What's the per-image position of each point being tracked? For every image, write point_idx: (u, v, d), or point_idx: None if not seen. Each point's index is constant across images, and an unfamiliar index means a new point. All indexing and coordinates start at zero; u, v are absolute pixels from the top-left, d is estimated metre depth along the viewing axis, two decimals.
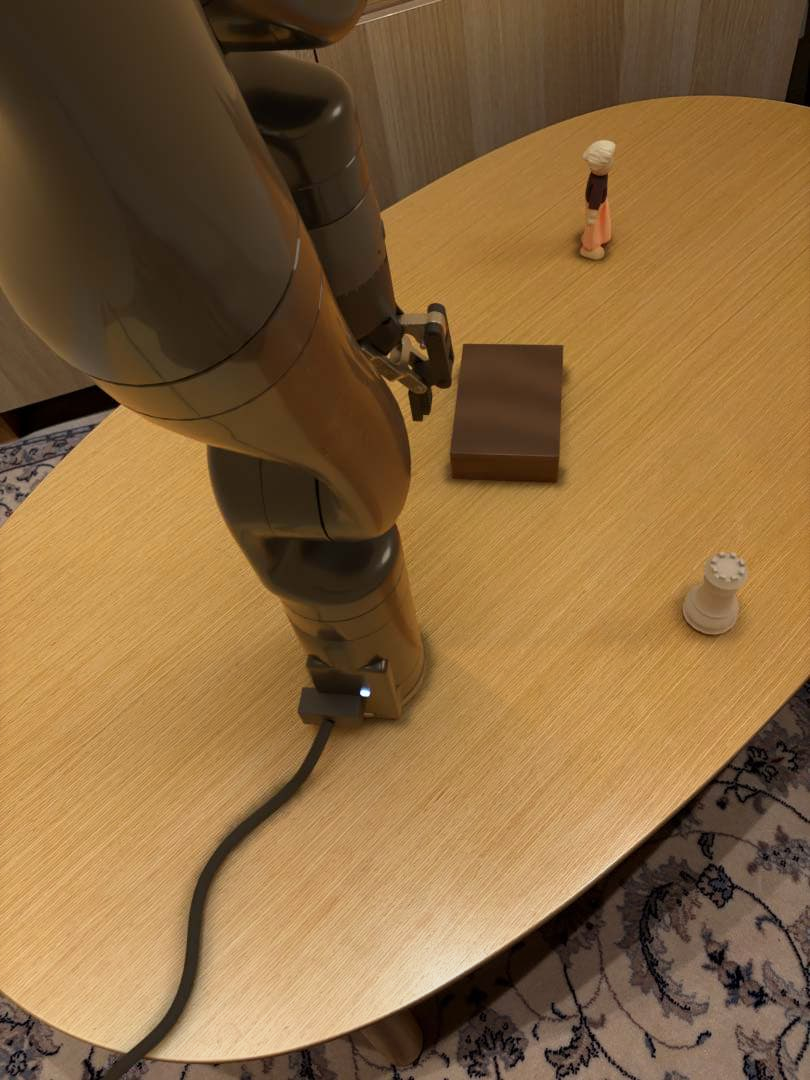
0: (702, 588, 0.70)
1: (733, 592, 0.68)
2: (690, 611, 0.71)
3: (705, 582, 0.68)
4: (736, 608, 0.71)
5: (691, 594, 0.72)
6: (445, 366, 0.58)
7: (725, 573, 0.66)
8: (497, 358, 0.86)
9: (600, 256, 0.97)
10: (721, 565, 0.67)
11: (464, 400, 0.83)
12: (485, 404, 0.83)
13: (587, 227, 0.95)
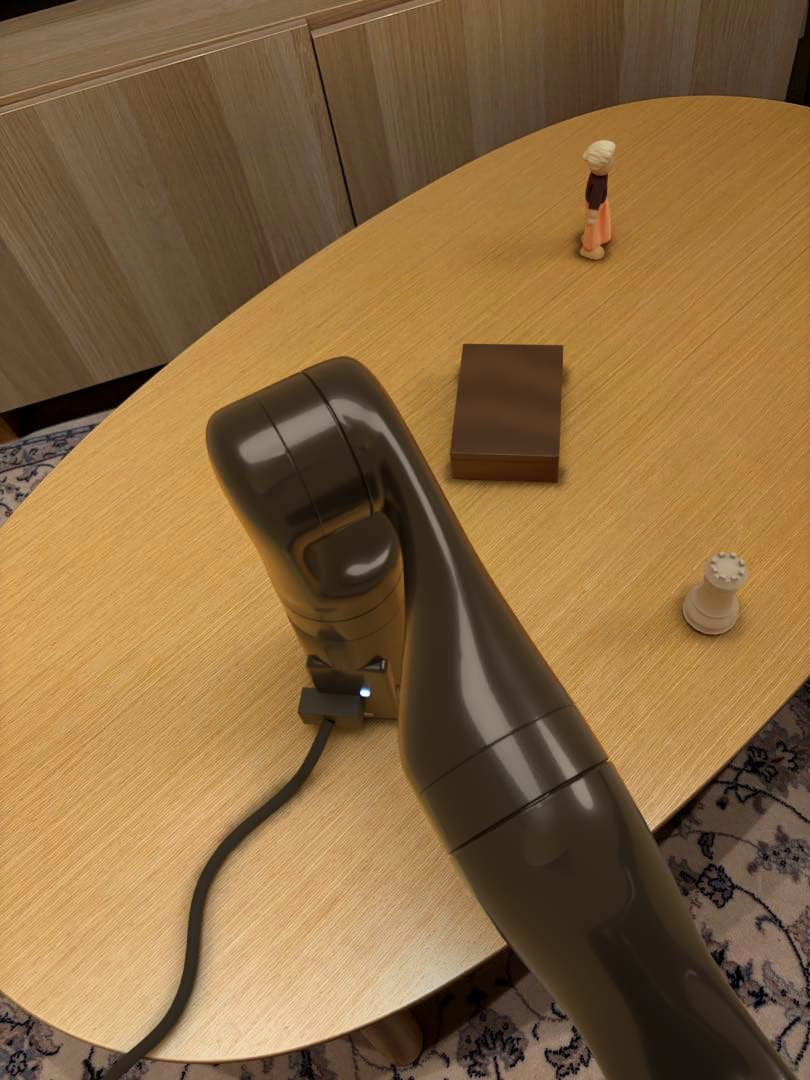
0: (702, 588, 0.70)
1: (733, 592, 0.68)
2: (690, 611, 0.71)
3: (705, 582, 0.68)
4: (736, 608, 0.71)
5: (691, 594, 0.72)
6: None
7: (725, 573, 0.66)
8: (497, 358, 0.86)
9: (600, 256, 0.97)
10: (721, 565, 0.67)
11: (464, 400, 0.83)
12: (485, 404, 0.83)
13: (587, 227, 0.95)
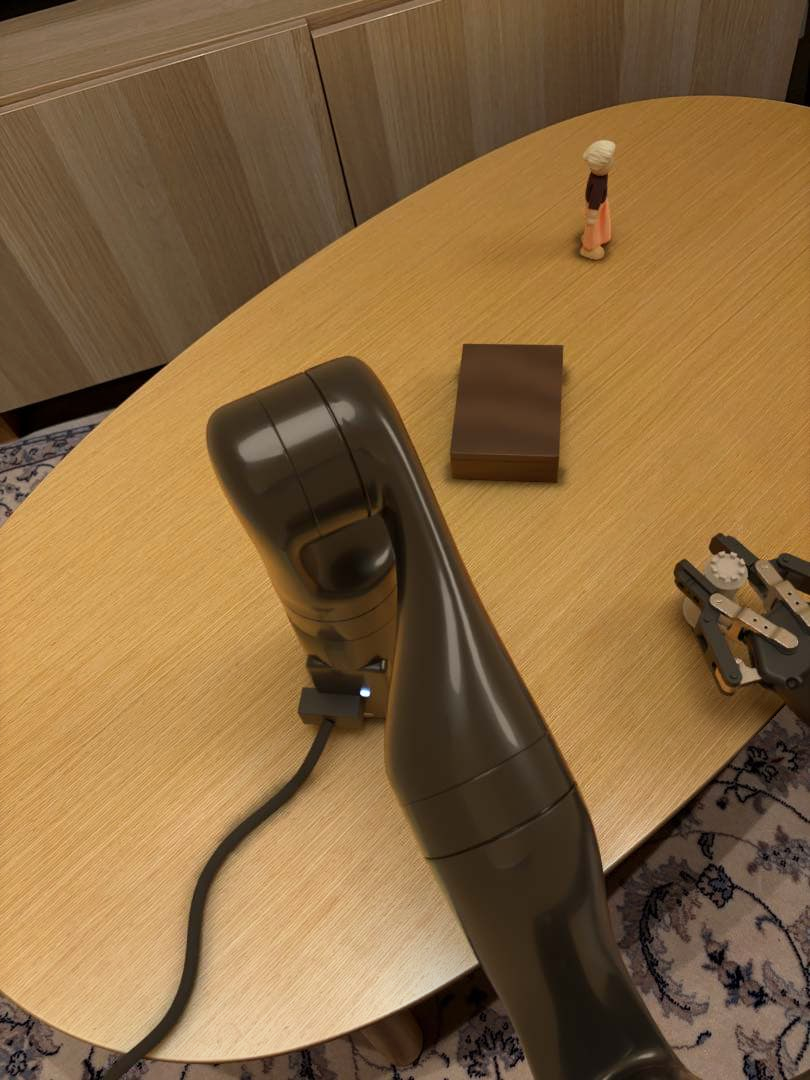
0: None
1: (733, 592, 0.68)
2: (690, 611, 0.71)
3: None
4: None
5: None
6: None
7: (725, 573, 0.66)
8: (497, 358, 0.86)
9: (600, 256, 0.97)
10: (721, 565, 0.67)
11: (464, 400, 0.83)
12: (485, 404, 0.83)
13: (587, 227, 0.95)
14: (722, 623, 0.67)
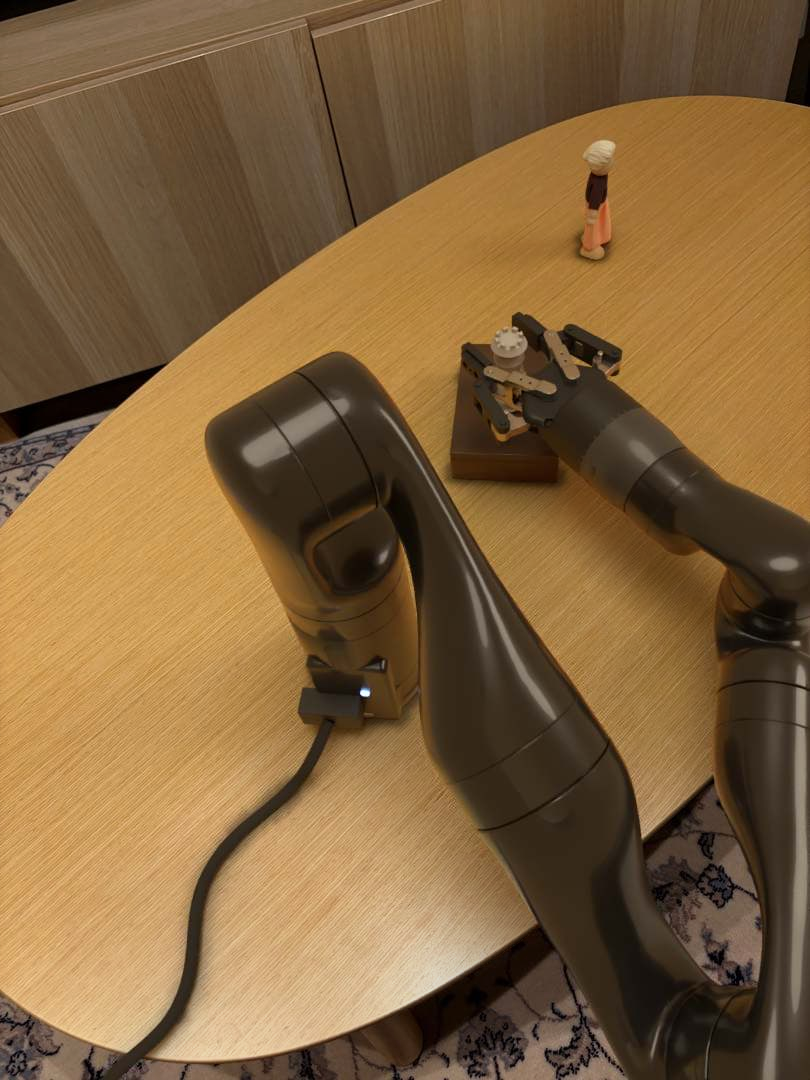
0: None
1: (516, 364, 0.77)
2: None
3: (494, 357, 0.78)
4: None
5: None
6: None
7: (506, 343, 0.76)
8: None
9: (600, 256, 0.97)
10: (503, 337, 0.76)
11: (464, 400, 0.83)
12: None
13: (587, 227, 0.95)
14: (499, 393, 0.76)
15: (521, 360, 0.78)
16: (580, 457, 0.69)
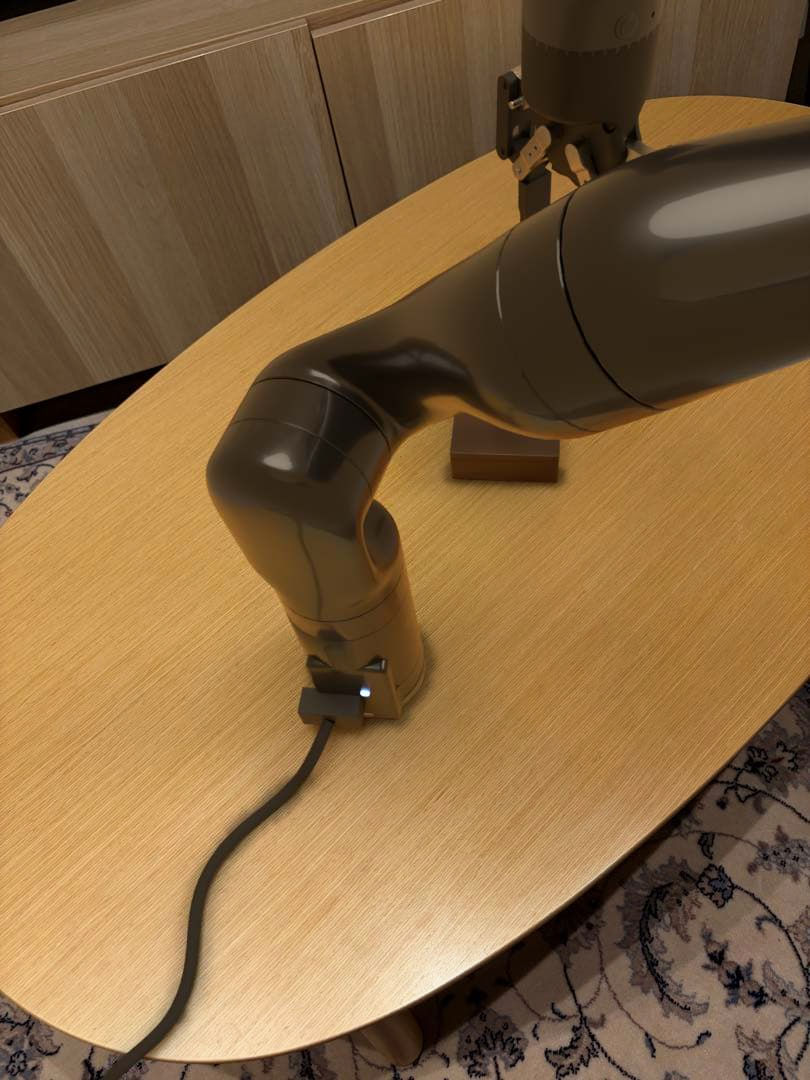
0: None
1: None
2: None
3: None
4: None
5: None
6: None
7: None
8: None
9: None
10: None
11: None
12: None
13: None
14: None
15: None
16: (620, 51, 0.45)
